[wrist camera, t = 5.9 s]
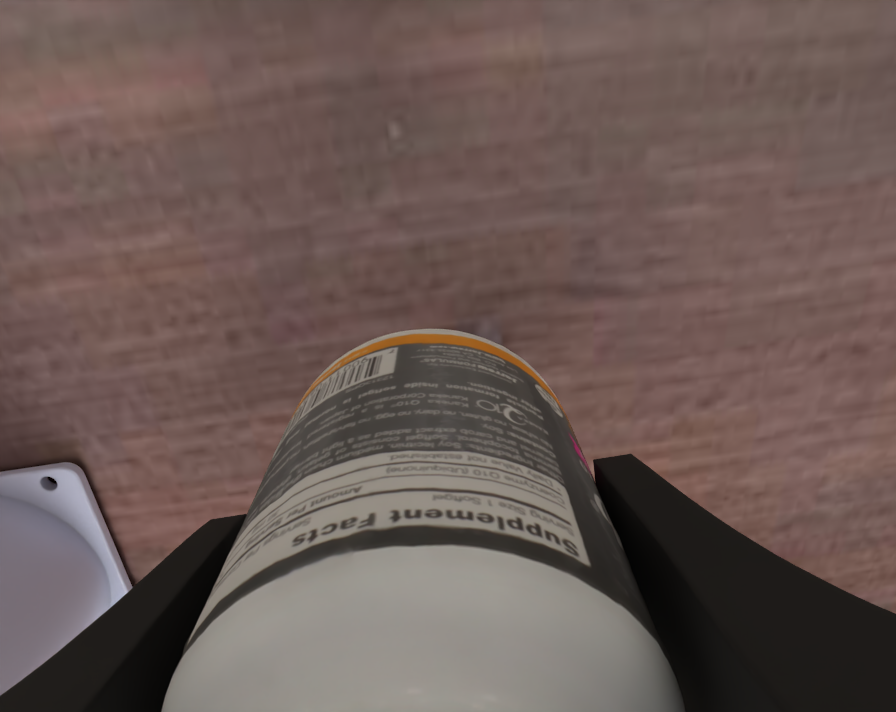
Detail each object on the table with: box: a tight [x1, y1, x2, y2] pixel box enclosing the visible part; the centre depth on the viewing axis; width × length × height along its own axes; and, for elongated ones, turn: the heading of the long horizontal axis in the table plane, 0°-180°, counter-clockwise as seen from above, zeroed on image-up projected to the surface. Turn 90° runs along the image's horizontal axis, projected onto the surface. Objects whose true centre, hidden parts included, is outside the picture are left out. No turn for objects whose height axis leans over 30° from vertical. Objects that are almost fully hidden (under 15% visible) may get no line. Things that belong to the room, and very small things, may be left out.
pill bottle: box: [161, 329, 685, 712], centre depth 9 cm, size 6×6×10 cm
